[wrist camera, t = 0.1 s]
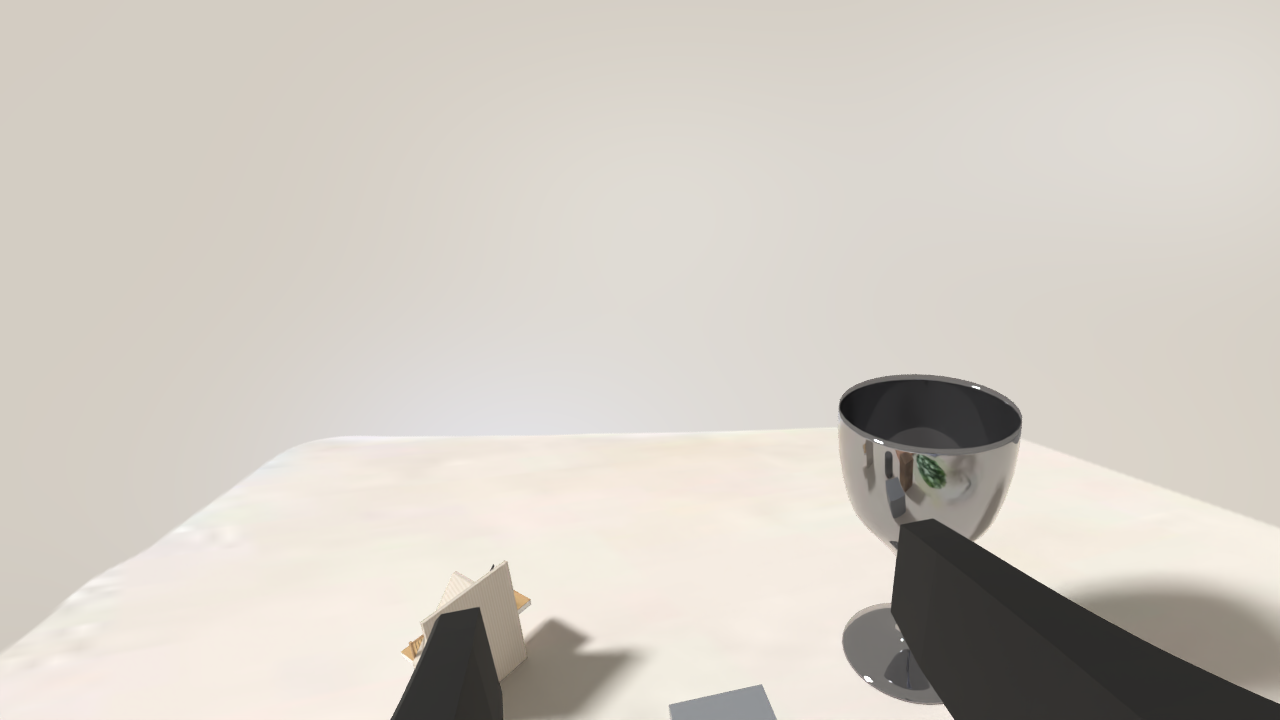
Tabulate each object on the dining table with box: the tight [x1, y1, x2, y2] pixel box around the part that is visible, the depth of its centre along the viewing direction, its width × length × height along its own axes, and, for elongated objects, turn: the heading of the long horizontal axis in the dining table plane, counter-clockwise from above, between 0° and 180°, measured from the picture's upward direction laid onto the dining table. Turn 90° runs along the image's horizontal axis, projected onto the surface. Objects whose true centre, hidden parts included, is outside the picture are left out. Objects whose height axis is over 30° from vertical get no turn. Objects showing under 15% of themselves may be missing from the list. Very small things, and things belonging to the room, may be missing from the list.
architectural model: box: [401, 561, 531, 682], centre depth 37 cm, size 3×7×7 cm, turn 142°
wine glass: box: [838, 374, 1022, 704], centre depth 34 cm, size 8×8×15 cm
